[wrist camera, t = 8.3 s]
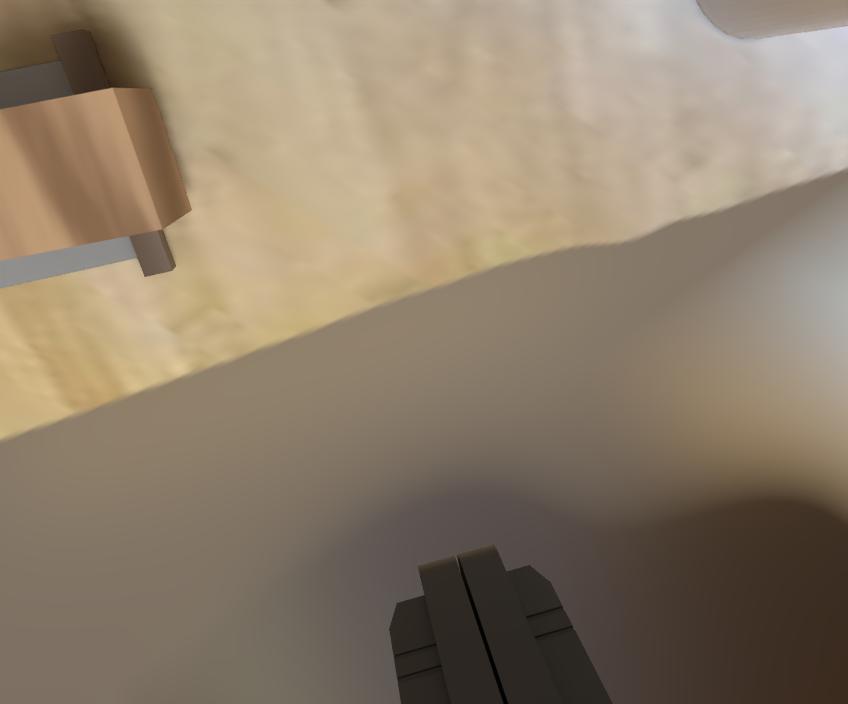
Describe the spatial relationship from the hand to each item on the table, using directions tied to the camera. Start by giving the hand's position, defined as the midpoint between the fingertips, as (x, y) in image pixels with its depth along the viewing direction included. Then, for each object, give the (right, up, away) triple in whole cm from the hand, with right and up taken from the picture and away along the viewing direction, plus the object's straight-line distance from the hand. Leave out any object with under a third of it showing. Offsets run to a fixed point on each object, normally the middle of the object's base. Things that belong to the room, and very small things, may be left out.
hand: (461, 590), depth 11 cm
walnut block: (-13, +14, +17) cm, 26 cm away
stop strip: (-17, +15, +20) cm, 30 cm away
